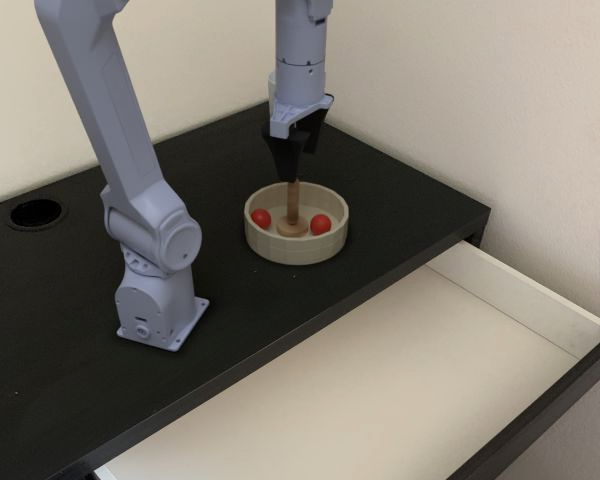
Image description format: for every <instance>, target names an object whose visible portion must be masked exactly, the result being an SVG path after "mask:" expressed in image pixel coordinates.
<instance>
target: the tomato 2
mask: <svg viewBox="0 0 600 480" xmlns="http://www.w3.org/2000/svg"><path fill="white" fill-rule="evenodd" d="M331 226H332V224H331V220H330V219H329V217H328V216H326V215H324V214H317V215H315V216H314V217H313V218H312V219H311V221H310V229H311V231H312V233H313V234H315V235H317V236H318V235H321V234H324V233H326V232H329V231H330V230H331Z"/></svg>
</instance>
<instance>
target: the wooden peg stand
mask: <svg viewBox="0 0 600 480" xmlns="http://www.w3.org/2000/svg"><path fill="white" fill-rule="evenodd" d="M299 182H300V179H299V178H297V179H296V182H295V183H287V215H286V216H283V217H281V218H280V219H279V220H278V222H277V231H278V233H279V234H280V235H281V236H284V237H291V238H300V237H303V236H304V235H306V234H307V232H308V221H307V220H306V219H305V218H303V217H301V216H299V184H300V183H299Z"/></svg>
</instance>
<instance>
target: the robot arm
mask: <svg viewBox="0 0 600 480" xmlns="http://www.w3.org/2000/svg"><path fill="white" fill-rule="evenodd" d="M274 1H275V3H274V5H275V7H274V8H275V11H274V13H275V17H274V18H275V21H274V22H275V27H274V29H275V30H274V32H275V33H274V35H275V36H274V37H275V38H274V40H275V43H274V45H275V48H274V49H275V51H274V53H275V55H274V56H275V57H274V58H275V59H274V61H275V65H274V66H275V67H274V69H275V92H274V106H273V116H272V118H271V119H270V118H269V121H268V120H266V121H265V123H264V124H263V125H262V126H261V131H260V132H261V133H260V134H261V138H262V139H263V140H264V142H265V143H266V144H267V146H268V149H269V151H270V153H271V155H272V159H273V162H274V166H275V170H276V172H277V177H278V180H279V181H280V182H288V183H295V182H296V179H298V175H299V173H300V172H299V171H300V166H301V160H302V155H303V153H304V154H308V155H315V154H316V151H317V148H318V146H319V141H320V137H321V133H322V129H323V126H324V123H325V120H326V117H327V115H328V113H329V112H330V111H329V110H330V108H331V106H333V103H334V102H335V96H334V95H333V94H331V93H328V92H326V91H325V90H326V89H325V88H326V79H327V78H326V77H327V72H326V71H325V70H326V54H327V53H326V52H327V34H328V16H330V15H331V13H332V10H333V8H334V0H274ZM129 2H130V0H33V5H34V10H35V14H36V17H37V20H38V22H39V25H40V27H41V29H42V31H43V34H44V36H45V39H46V41H47V43H48V45H49V49H50V50H51V54H52V55H53V58H54V61H55V62H56V64H57V67H58V69H59V72H60V74H61V76H62V79H63V81H64V84H65V86H66V88H67V91H68V93H69V95H70V97H71V100H72V102H73V105H74V107H75V110H76V112H77V114H78V117H79V119H80V121H81V123H82V126H83V128H84V130H85V133H86V136H87V138H88V140H89V142H90V145H91V147H92V150H93V152H94V154H95V156H96V159H97V162H98V164H99V166H100V169H101V172H102V173H103V176H104V177H105V180H106V182H107V184H106V185H105V187H104V188H103V190H102V191H101V192H100V194H99V196H100V199H101V201H102V204H103V208H104V217H103V219H104V227H105V230H106V232H107V233H108V235H109V236H110V237H111V238H112V239H114V240H116V241H118V242H119V247H120V250H121V252H122V253H123V257H124V264H125V265H124V267H125V268H124V274H123V278H122V280H121V283H120V285H119V286H118V288H117V289H116V291H115V294H114V302H115V306H116V310H117V315H118V319H119V323H120V326H119V328H118V329H117V331H116V335H117V337H119V338H123V339H125V340H126V339H127V340H130V341H134V342H138V343H141V344H144V345H148V346H151V347H152V346H153V347H155V348H160V349H163V350H167V351H170V352H177V351H179V350H180V348H181V347H182V345H183V344H184V343H185V342H186V339H187V338H188V336H189V335H190V333H192V331H193V329H194V327H196V324H198V323H199V320H200V319H201V318H202V316H203V314H204V313H205V312H206V311H207V309H208V308H209V306H210V301H209V300H208V299H206V298H202V297H198V296H195V287H194V279H193V272H192V264H193V262H194V261H195V259H196V258H197V256H198V254H199V252H200V249H201V246H202V240H203V235H202V229H201V226H200V224H199V223H198V221H196V220H195V219H194V218H192V217H191V215H190V214H189V212H188V209H187V207H186V204H185V202H184V201H183V200H182V199H181V198H180V196H179V195H178V194H177V192H175V190H173V188H172V187H171V186H170V185H169V184H168V182H167V181H166V179H165V178H164V175H163V172H162V169H161V167H160V163H159V161H158V157H157V154H156V151H155V149H154V145H153V142H152V139H151V135H150V133H149V131H148V127H147V125H146V121H145V119H144V115H143V113H142V108H141V106H140V103H139V101H138V97H137V95H136V91H135V89H134V85H133V82H132V80H131V77H130V74H129V71H128V67H127V64H126V62H125V57H124V56H123V52H122V50H121V47H120V44H119V40H118V38H117V34H116V32H115V28H114V25H113V22H114V19H115V17H116V15H117V14H119V13H121V12H122V11H123V10H124V9H125V7H126V6H127V4H128V3H129ZM294 122H295V123H296V127H295V123H294Z"/></svg>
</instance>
